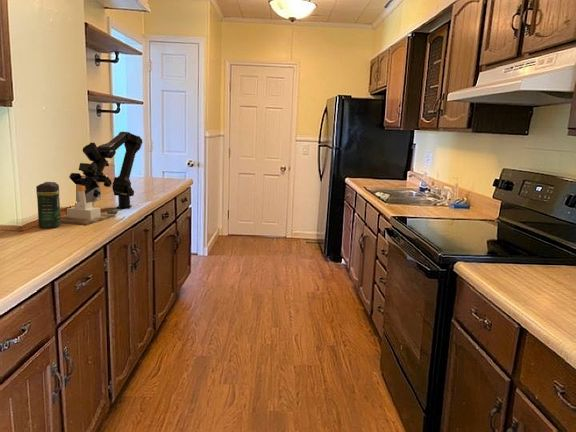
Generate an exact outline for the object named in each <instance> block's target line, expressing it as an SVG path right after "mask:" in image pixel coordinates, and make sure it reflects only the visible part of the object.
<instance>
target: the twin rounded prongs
mask: <svg viewBox="0 0 576 432" xmlns="http://www.w3.org/2000/svg"><path fill="white" fill-rule="evenodd" d="M118 212H119V211H118V209H117V208H114V209H111V210H108V211H107V212H106V214H115V215H116V214H117V213H118Z"/></svg>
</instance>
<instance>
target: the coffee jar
mask: <svg viewBox="0 0 576 432" xmlns="http://www.w3.org/2000/svg"><path fill="white" fill-rule="evenodd" d="M35 190H36V198H37V219H38V222H37V223H38V228H42V229H43V228H44V229H50V228H57V227H59V226H60V225H61V224H62V223H61V217H62V216H61V203H60V202H61V201H60V200H61V199H60V185H59V184H58V183H57V182H55V181H45V182H43V183H40V184H38V185H36V189H35Z"/></svg>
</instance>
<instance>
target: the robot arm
mask: <svg viewBox="0 0 576 432" xmlns="http://www.w3.org/2000/svg"><path fill="white" fill-rule="evenodd" d="M142 144H143V139H142V138H141V136H139V135H135V134H133V133H131V132H130V131H119V133H118V134H117V135H116V136H114V137H113V138H112V139H111V140H110V141H108V142H106V143H102V144H100V145H99V146H97V144H96V143H95V142H90V143H89V144H87V145H85V146H84V147H83V148H82V153H83V154H84V155H85V156H86V158H87V159H88V160H89V161H90V163H86V162H80V163H79V165H78V171H81V172H82V174H83V175H82V174H81V173H78V172H77V173H76V172H71V173H70V174H69V176H68V177H69V178H70V179H71V180H72V181H73V182H74V183H75V184H76V185H82V186H85V188H86V190H85V194H87V193H88V192H90V191H91V190H93V189H95V188H97V187H99V186H100V185H99V184H101V183H103V186H104V187H106V188H110V187H112V188H111V189H112V192H113V196H115V197H116V196H117V197H118V206H116V209H130V208H132V207H133V204H131V197H133V196H135V195H134V194H135V190H134V189H133V188H132V183H131V180H130V176H131V172H132V169H133V166H134V161H135V158H136V154H137V153H138V151H140V149H141V148H142ZM122 145H124V148H125V153H124V157H123V160H122V164H121V169H120V171H119V176H115V177H114V178H113V182H112V180H111V179H110V178H109V176H108V174H104V172H103V171H104V169H105V167H110V163H109V161H108V160H107V159H113V158H114V157H115V155H116V153H117V152H116V151H117V150H118V149H119V148H120V147H121V146H122ZM69 178H68V179H69ZM98 185H99V186H98Z"/></svg>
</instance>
